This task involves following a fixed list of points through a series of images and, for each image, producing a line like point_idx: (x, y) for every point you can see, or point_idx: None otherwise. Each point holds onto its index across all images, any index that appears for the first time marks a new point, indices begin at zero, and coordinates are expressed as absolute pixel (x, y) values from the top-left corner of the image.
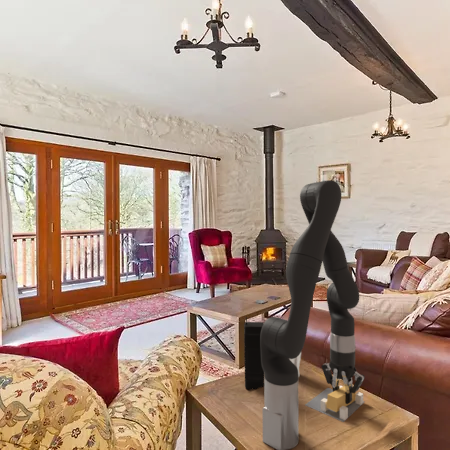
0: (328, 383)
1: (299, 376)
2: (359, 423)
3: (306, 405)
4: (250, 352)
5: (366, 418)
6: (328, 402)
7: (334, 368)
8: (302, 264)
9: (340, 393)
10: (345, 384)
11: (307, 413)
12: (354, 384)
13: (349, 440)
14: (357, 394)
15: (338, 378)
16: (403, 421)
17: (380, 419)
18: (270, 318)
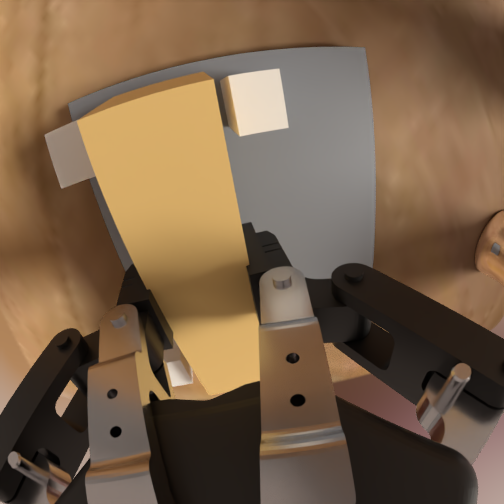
0: (346, 266)
1: (482, 262)
2: (51, 203)
3: (354, 49)
4: None
5: (72, 269)
6: (191, 77)
7: (362, 496)
8: None
9: (171, 254)
10: (113, 363)
11: (305, 13)
12: (35, 407)
13: None
14: (172, 364)
15: (246, 388)
16: (26, 358)
17: (50, 312)
18: None
